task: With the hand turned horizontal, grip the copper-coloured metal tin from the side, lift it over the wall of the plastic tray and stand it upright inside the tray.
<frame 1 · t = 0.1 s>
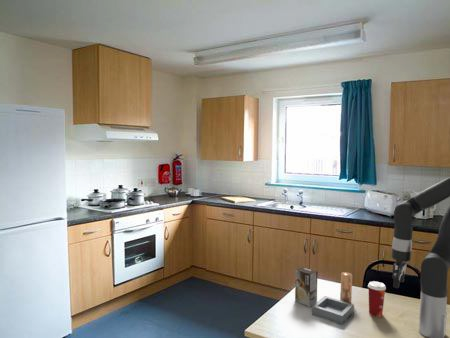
hand: (398, 284, 154), 17 cm above the table, tool pointing down, fingers open, 8 cm apart
coffee box: (305, 302, 175), on the table
grey tray: (332, 313, 163), on the table
copper tin: (345, 301, 175), on the table
paper cup: (375, 314, 164), on the table
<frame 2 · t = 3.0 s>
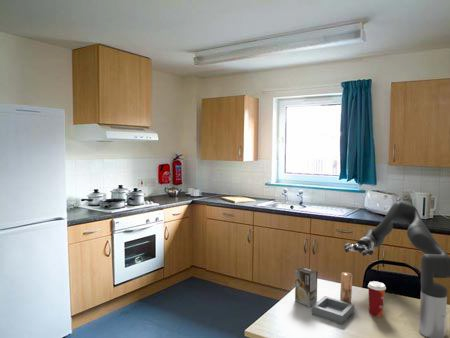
hand: (354, 252, 182), 22 cm above the table, tool horizontal, fingers open, 8 cm apart
nothing on the table moved.
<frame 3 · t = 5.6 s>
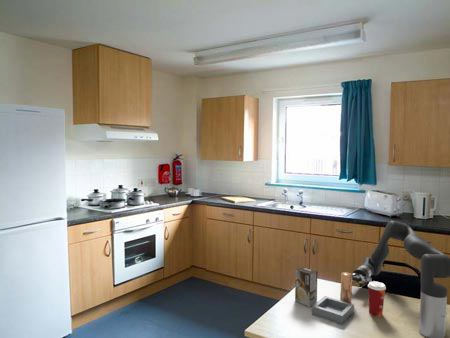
hand: (351, 282, 180), 7 cm above the table, tool horizontal, fingers open, 8 cm apart
nothing on the table moved.
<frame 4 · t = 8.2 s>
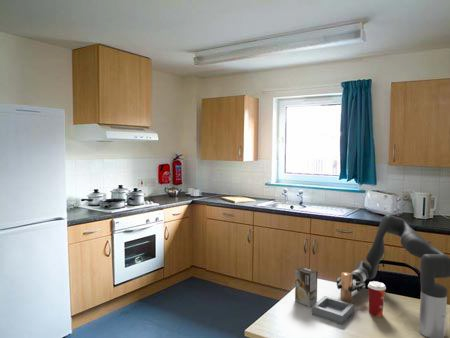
hand: (344, 288, 173), 8 cm above the table, tool horizontal, fingers closed on copper tin, 5 cm apart
copper tin: (345, 301, 175), on the table, touching gripper
everything else where it was.
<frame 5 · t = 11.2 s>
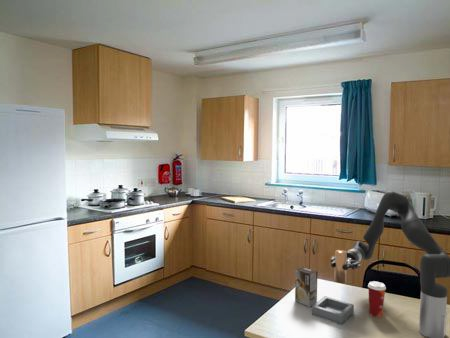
hand: (338, 266, 165), 21 cm above the table, tool horizontal, fingers closed on copper tin, 5 cm apart
copper tin: (340, 280, 167), point 13 cm above the table, touching gripper
everything else where it was.
when the fingers open (10 cm above the table, at t = 14.5 s): copper tin drops 1 cm, resting on grey tray.
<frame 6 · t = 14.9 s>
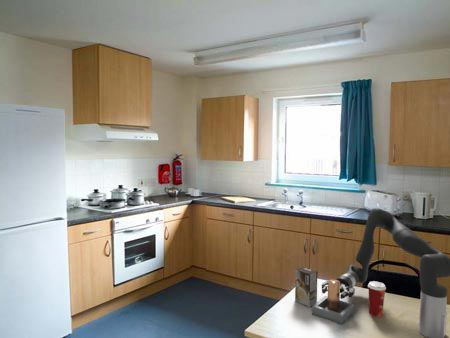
hand: (332, 294, 161), 10 cm above the table, tool horizontal, fingers open, 8 cm apart
copper tin: (333, 311, 163), point 1 cm above the table, touching grey tray
everything else where it was.
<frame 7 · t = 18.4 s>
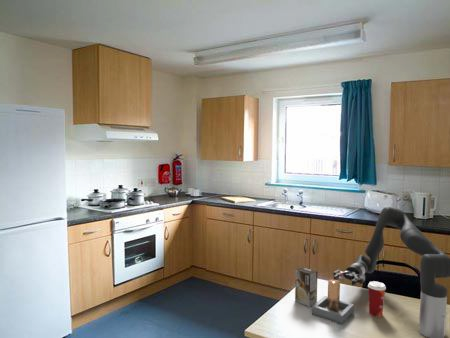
hand: (343, 280, 171), 12 cm above the table, tool horizontal, fingers open, 8 cm apart
nothing on the table moved.
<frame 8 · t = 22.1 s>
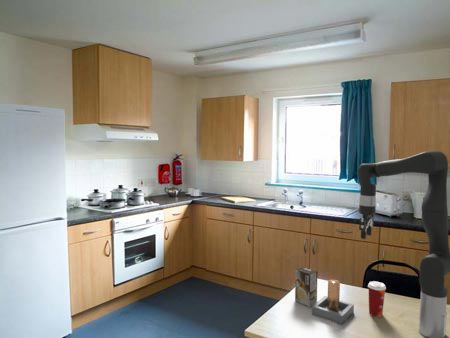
hand: (366, 236, 175), 32 cm above the table, tool pointing down, fingers open, 8 cm apart
nothing on the table moved.
at the end: copper tin inside the target area on the grey tray (0.1 cm from its centre), point 1.0 cm above the grey tray's base; copper tin tilted 1°; the gripper is holding nothing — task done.
